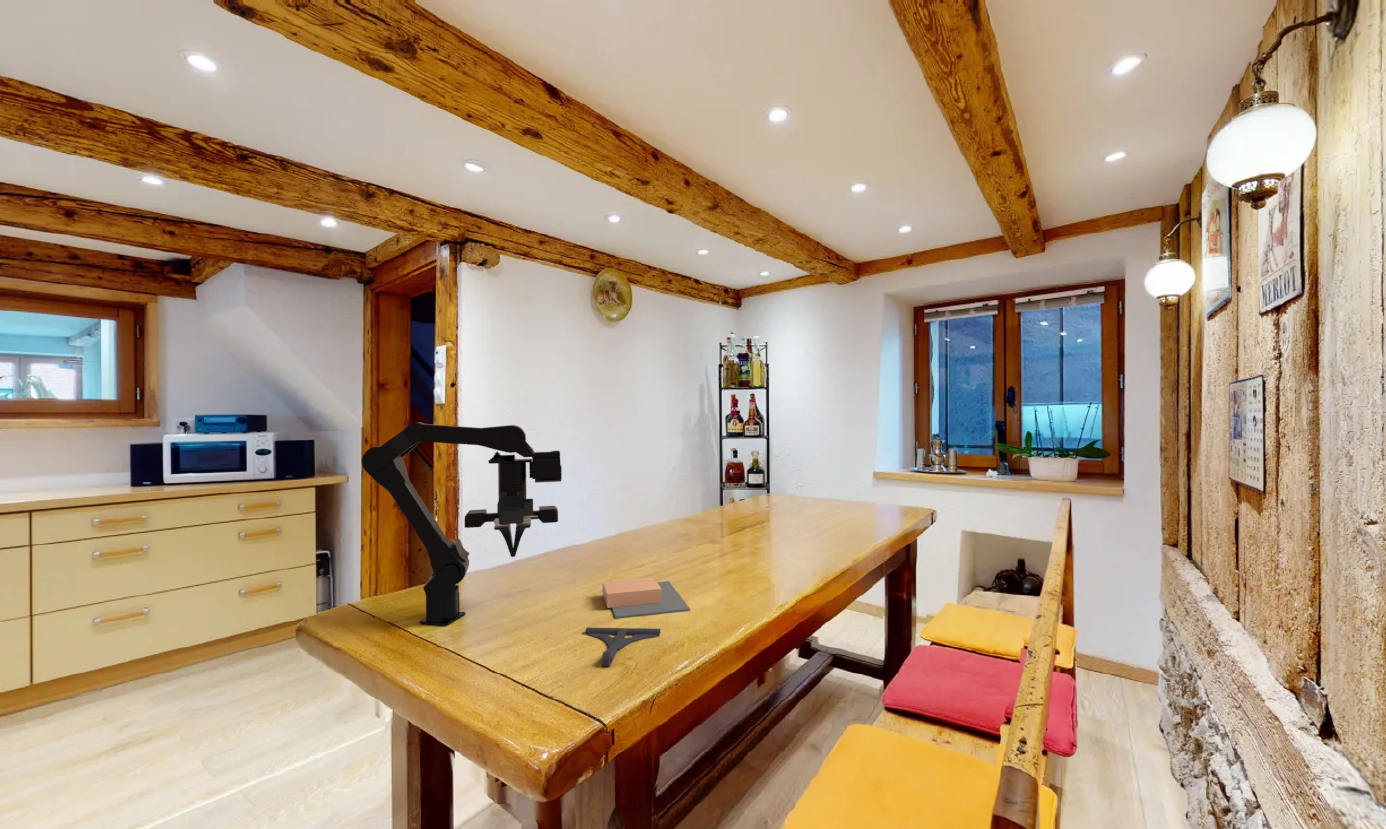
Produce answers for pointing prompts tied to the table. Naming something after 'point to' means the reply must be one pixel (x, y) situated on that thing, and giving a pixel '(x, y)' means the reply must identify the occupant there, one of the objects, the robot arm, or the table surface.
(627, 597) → the brick
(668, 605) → the mat
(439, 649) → the table surface
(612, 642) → the bracket
